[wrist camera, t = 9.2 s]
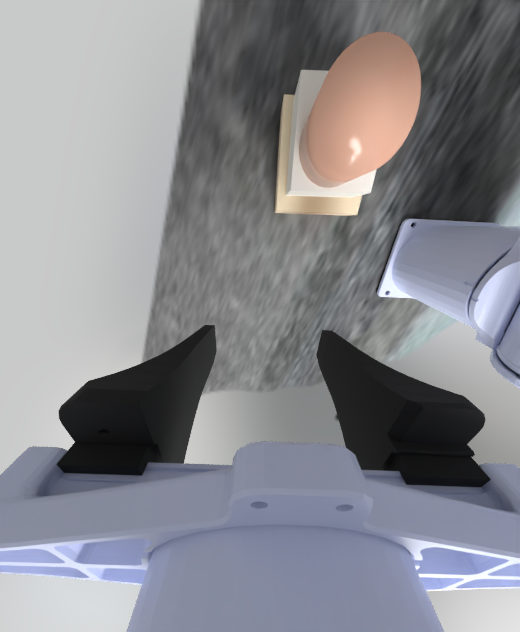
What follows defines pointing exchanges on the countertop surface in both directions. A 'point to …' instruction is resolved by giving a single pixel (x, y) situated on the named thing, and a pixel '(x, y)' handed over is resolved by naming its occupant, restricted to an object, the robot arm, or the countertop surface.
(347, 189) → the top block
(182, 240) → the countertop surface
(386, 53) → the pink oval piece
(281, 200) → the base block
